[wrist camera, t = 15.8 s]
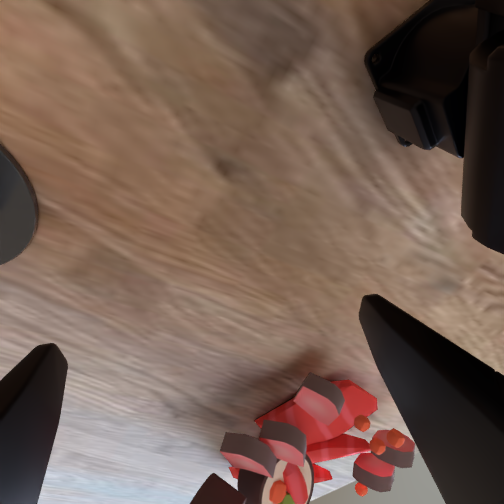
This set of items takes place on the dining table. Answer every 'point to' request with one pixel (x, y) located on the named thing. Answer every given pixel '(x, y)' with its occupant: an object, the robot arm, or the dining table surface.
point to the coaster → (15, 208)
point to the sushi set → (308, 448)
